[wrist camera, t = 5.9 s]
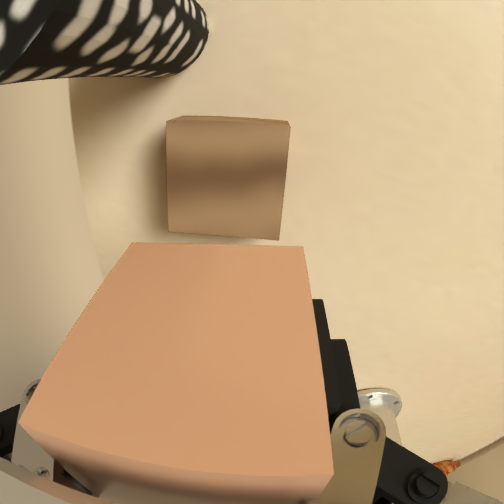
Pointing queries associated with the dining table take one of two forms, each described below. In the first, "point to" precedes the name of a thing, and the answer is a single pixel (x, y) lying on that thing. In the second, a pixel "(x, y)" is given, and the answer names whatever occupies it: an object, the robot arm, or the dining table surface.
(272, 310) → the peach matte cube
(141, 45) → the white-spotted black cylinder
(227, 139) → the walnut block
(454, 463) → the croissant
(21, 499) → the robot arm
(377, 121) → the dining table surface
